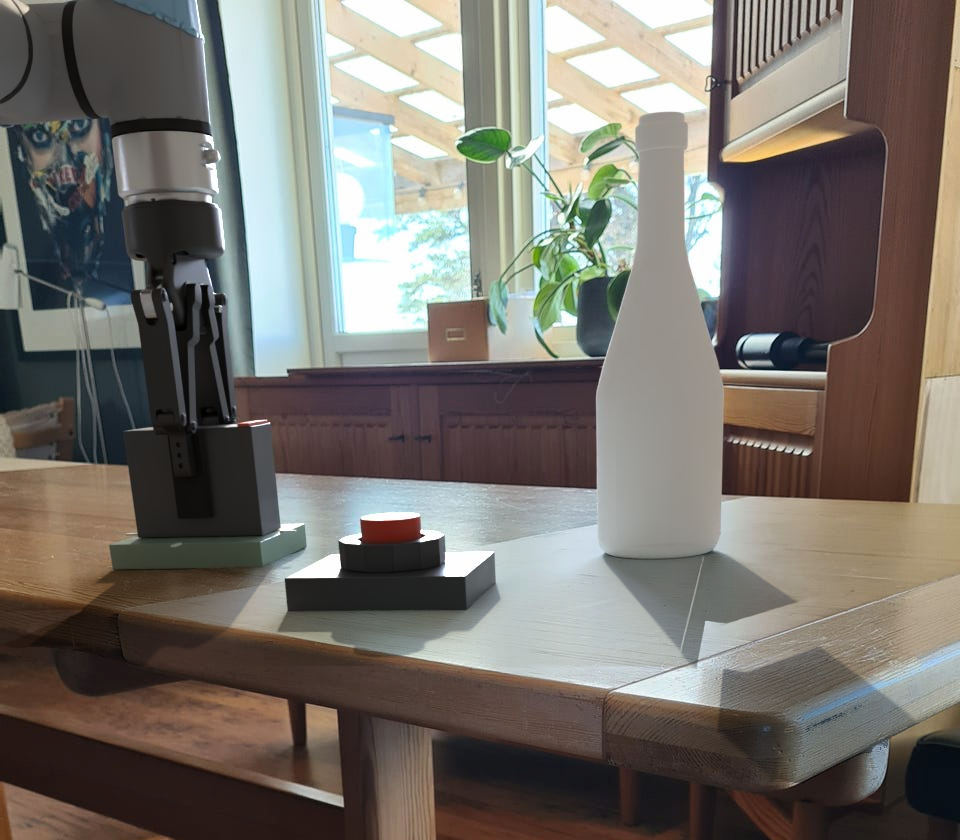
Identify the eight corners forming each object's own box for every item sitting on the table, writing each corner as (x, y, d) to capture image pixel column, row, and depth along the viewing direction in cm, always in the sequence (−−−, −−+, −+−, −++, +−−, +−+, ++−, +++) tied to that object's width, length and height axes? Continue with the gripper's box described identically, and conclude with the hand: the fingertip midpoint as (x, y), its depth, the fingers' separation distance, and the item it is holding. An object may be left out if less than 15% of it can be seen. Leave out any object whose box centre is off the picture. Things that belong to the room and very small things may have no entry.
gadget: (137, 538, 107) (122, 427, 103) (160, 530, 111) (146, 424, 108) (262, 535, 104) (250, 423, 101) (281, 528, 109) (270, 419, 105)
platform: (88, 574, 103) (83, 546, 102) (167, 546, 117) (163, 521, 116) (266, 571, 100) (263, 543, 99) (326, 543, 114) (324, 518, 113)
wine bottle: (647, 539, 107) (648, 130, 96) (744, 547, 100) (757, 110, 89) (572, 555, 100) (565, 119, 89) (671, 564, 94) (676, 97, 83)
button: (354, 548, 84) (352, 520, 84) (371, 539, 88) (369, 513, 87) (413, 547, 83) (411, 519, 83) (427, 538, 87) (426, 511, 86)
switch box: (287, 612, 84) (281, 550, 82) (333, 585, 93) (328, 528, 91) (466, 611, 81) (463, 546, 80) (496, 583, 90) (493, 525, 89)
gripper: (168, 186, 90) (208, 527, 98) (257, 209, 106) (285, 500, 114) (70, 194, 91) (118, 529, 100) (172, 215, 107) (206, 502, 116)
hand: (207, 513), depth 107 cm, fingers closed on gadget, 4 cm apart
